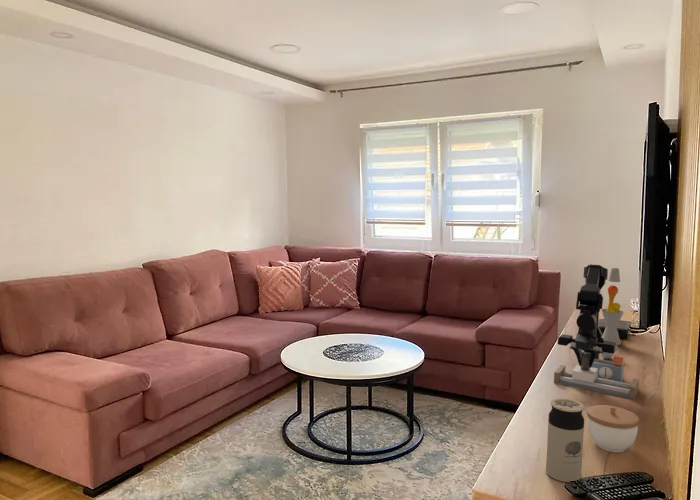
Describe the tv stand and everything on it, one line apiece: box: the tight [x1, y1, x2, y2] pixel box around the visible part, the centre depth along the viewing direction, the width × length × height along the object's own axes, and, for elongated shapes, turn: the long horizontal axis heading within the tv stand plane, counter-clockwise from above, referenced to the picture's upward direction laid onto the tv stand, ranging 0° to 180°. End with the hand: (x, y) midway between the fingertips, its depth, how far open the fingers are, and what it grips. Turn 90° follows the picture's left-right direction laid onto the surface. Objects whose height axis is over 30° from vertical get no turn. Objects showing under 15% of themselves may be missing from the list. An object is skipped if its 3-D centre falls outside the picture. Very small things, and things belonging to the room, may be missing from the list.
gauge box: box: [592, 358, 625, 382], centre depth 194 cm, size 6×10×6 cm, turn 55°
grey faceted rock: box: [600, 350, 617, 360], centre depth 219 cm, size 6×7×7 cm
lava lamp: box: [601, 267, 624, 346], centre depth 241 cm, size 9×9×35 cm
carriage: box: [571, 351, 598, 383], centre depth 188 cm, size 8×7×9 cm
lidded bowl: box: [586, 404, 640, 453], centre depth 142 cm, size 13×13×11 cm
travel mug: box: [545, 397, 585, 483], centre depth 127 cm, size 8×8×18 cm
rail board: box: [553, 364, 640, 400], centre depth 187 cm, size 10×26×4 cm, turn 55°
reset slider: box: [612, 353, 625, 366], centre depth 192 cm, size 3×3×3 cm
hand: (585, 366), depth 188 cm, fingers closed on carriage, 3 cm apart
